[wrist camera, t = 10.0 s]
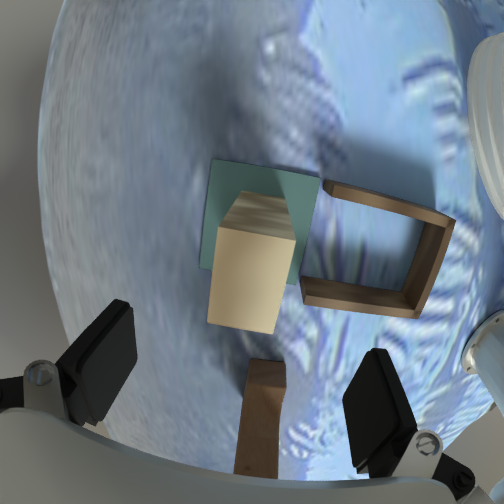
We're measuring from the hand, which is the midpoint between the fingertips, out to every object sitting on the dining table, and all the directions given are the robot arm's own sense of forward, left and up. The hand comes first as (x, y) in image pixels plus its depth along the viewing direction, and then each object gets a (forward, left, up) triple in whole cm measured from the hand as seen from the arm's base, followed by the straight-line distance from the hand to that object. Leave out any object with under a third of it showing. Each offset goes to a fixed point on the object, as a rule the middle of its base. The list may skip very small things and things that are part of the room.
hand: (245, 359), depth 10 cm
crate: (-11, 0, -18) cm, 21 cm away
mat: (+1, 0, -18) cm, 18 cm away
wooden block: (-4, +21, -18) cm, 28 cm away
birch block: (0, 0, -18) cm, 18 cm away
